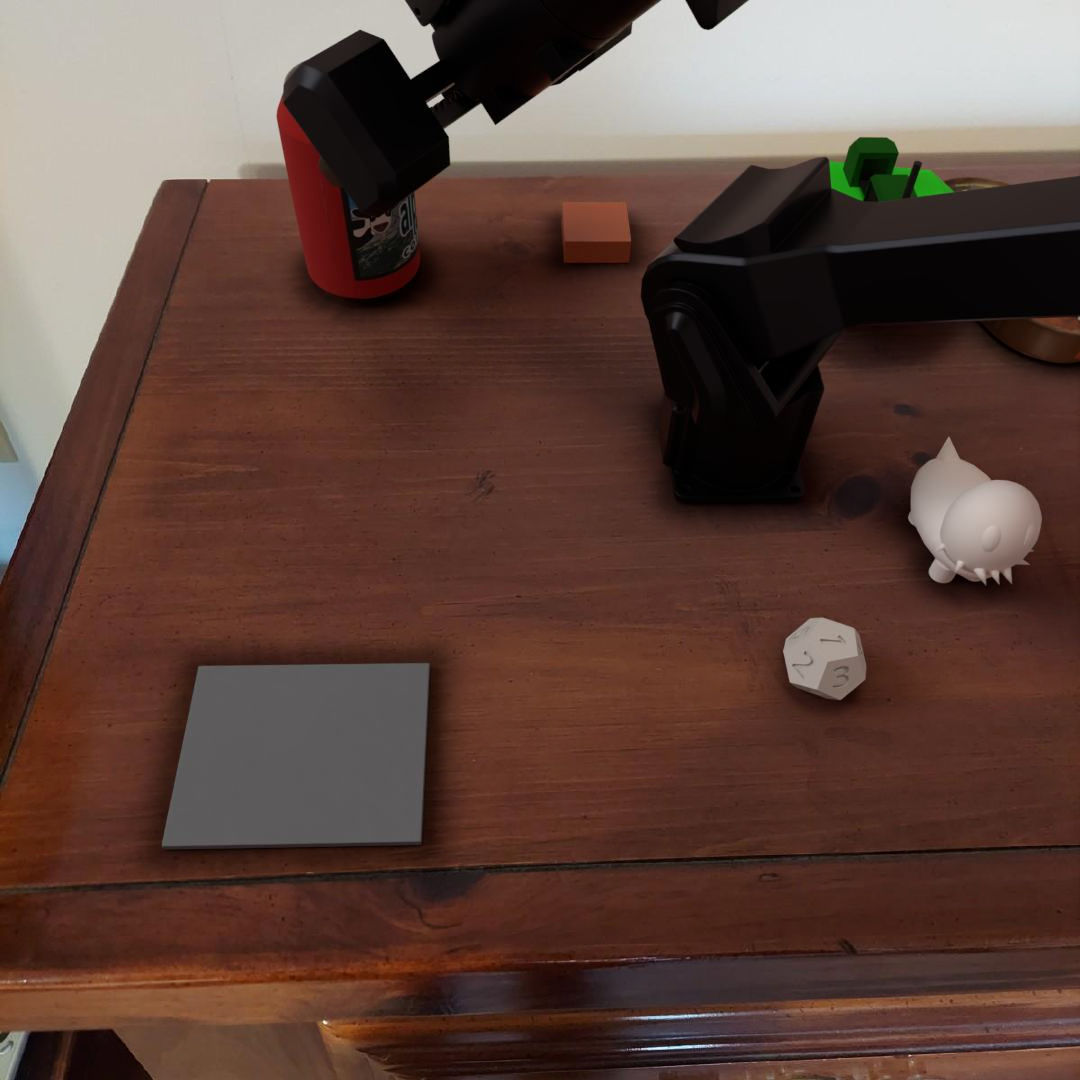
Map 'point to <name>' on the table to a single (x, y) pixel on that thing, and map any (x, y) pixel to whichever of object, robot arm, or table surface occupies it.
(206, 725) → the grey mat
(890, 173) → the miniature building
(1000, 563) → the toy creature
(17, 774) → the table surface
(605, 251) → the terracotta tile
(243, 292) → the table surface
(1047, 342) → the tin
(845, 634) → the game die
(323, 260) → the beverage can
